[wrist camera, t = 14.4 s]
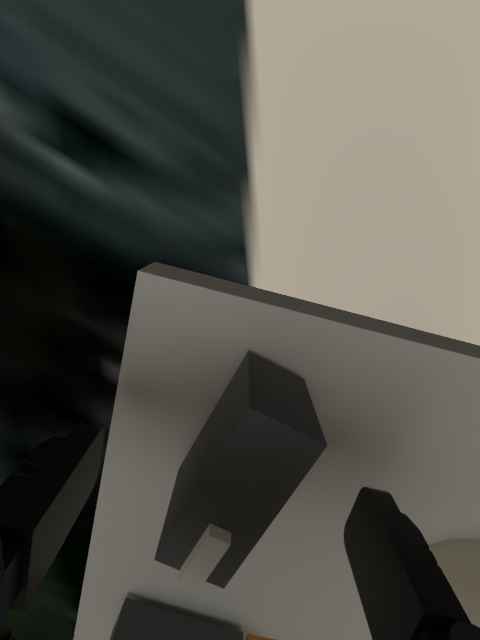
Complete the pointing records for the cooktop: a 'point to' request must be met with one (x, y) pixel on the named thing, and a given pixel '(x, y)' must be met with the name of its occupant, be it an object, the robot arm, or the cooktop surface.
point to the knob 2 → (239, 472)
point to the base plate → (320, 482)
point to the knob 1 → (165, 625)
